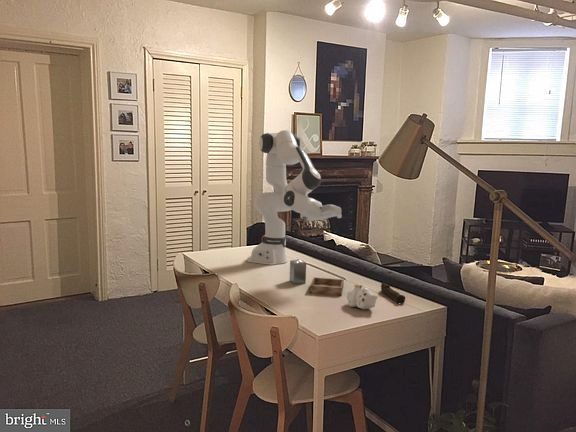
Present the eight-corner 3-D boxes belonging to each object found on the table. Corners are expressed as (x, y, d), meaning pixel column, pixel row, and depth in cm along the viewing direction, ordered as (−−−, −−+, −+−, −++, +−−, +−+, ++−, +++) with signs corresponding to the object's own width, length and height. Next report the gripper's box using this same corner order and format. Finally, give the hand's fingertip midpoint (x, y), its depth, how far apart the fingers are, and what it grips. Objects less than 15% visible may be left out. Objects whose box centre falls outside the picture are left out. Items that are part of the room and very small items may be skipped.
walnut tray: (309, 293, 212) (310, 285, 211) (313, 284, 226) (313, 277, 225) (341, 295, 210) (341, 288, 209) (343, 286, 223) (343, 279, 223)
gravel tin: (293, 284, 225) (294, 260, 224) (289, 280, 231) (290, 258, 229) (305, 283, 227) (306, 260, 225) (301, 280, 233) (302, 257, 231)
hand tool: (405, 304, 202) (406, 293, 201) (396, 304, 201) (397, 294, 200) (387, 291, 220) (387, 281, 219) (378, 291, 219) (379, 281, 218)
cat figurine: (346, 281, 199) (374, 285, 187) (358, 288, 204) (386, 293, 192) (338, 302, 196) (366, 308, 185) (350, 309, 201) (378, 315, 189)
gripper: (330, 198, 218) (350, 208, 227) (299, 206, 233) (319, 215, 242) (328, 211, 216) (348, 221, 225) (297, 218, 231) (317, 227, 240)
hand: (333, 218), depth 233 cm, fingers open, 8 cm apart
